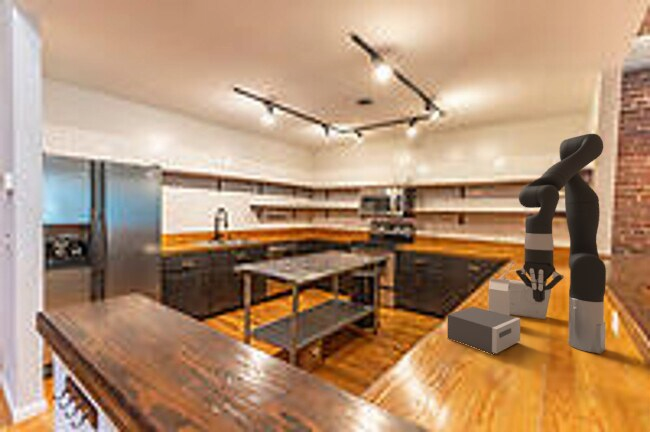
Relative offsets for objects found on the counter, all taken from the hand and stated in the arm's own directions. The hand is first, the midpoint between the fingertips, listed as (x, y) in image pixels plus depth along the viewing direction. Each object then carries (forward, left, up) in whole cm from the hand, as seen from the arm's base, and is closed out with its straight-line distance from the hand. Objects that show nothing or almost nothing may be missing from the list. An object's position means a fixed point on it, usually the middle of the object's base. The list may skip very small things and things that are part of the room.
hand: (538, 301), depth 95 cm
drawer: (+17, 0, -18) cm, 24 cm away
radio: (+22, -45, -19) cm, 54 cm away
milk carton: (+23, -25, -19) cm, 39 cm away
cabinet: (+18, 0, -19) cm, 26 cm away
